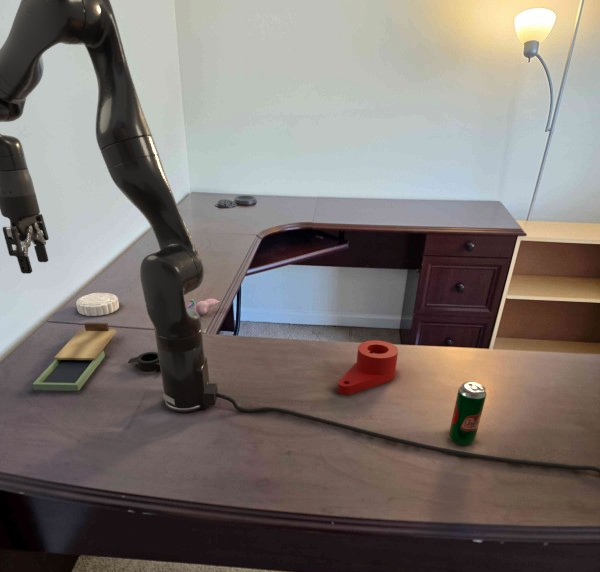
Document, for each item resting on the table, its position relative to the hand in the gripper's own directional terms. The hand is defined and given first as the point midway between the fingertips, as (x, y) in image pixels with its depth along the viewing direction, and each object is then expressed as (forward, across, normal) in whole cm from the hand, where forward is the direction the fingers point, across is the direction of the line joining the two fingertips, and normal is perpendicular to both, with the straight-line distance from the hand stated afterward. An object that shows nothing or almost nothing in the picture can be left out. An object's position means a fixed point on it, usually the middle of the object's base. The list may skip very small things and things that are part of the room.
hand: (35, 267), depth 114 cm
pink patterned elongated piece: (+23, +27, -31) cm, 47 cm away
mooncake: (+23, +32, 0) cm, 39 cm away
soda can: (+23, -35, -93) cm, 102 cm away
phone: (+22, -9, -6) cm, 25 cm away
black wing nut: (+23, -6, -25) cm, 34 cm away
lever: (+23, -11, -76) cm, 81 cm away
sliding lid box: (+23, -9, -6) cm, 25 cm away
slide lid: (+21, +2, -7) cm, 22 cm away
